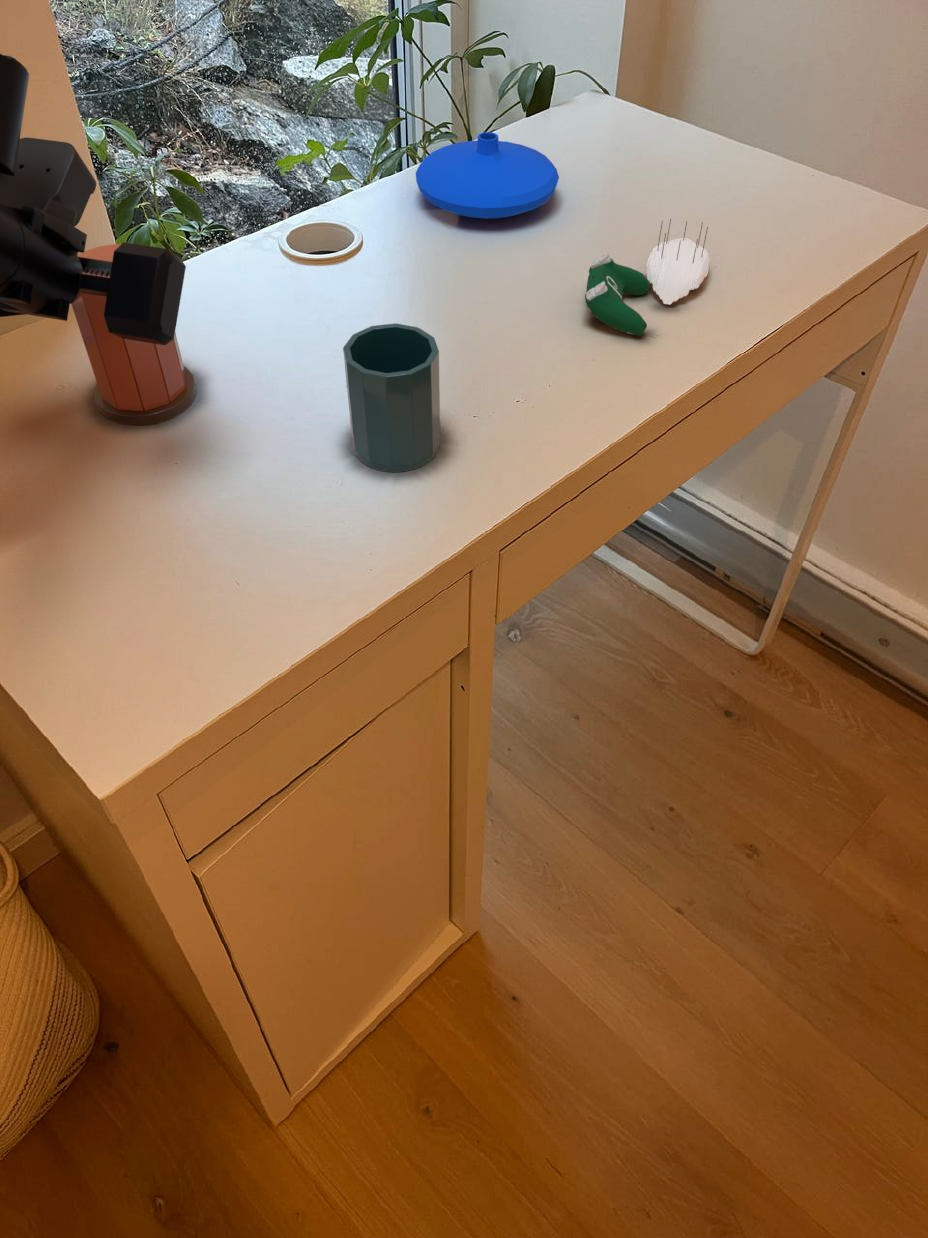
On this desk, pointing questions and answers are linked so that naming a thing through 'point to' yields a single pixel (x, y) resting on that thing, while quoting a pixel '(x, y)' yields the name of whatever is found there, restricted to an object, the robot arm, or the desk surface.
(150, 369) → the fluted orange cylinder
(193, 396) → the towel holder
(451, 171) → the vase
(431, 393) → the teal cup
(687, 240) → the pincushion
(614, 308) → the green christmas stockings
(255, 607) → the desk surface
